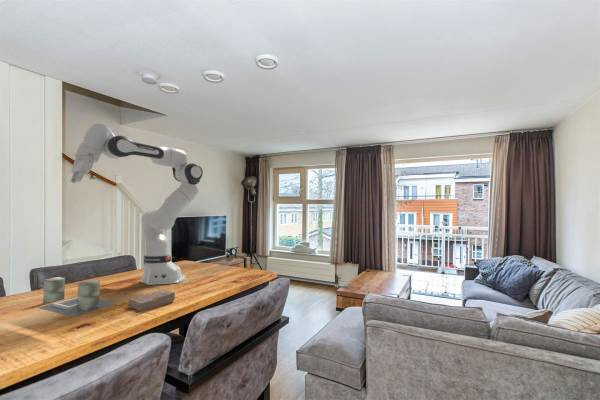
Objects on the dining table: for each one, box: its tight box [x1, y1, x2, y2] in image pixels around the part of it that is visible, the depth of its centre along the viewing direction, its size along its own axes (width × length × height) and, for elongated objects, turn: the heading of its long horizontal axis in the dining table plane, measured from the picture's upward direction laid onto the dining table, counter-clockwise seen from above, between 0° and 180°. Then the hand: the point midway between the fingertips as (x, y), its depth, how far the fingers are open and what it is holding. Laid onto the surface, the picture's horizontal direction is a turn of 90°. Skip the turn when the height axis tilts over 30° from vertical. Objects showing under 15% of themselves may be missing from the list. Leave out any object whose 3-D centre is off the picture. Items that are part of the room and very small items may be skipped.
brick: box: [127, 288, 176, 314], centre depth 119 cm, size 17×8×5 cm, turn 152°
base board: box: [37, 296, 117, 318], centre depth 114 cm, size 16×22×2 cm
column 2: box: [77, 279, 101, 311], centre depth 111 cm, size 5×5×10 cm
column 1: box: [42, 276, 66, 305], centre depth 119 cm, size 5×5×10 cm
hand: (75, 181), depth 130 cm, fingers open, 8 cm apart
